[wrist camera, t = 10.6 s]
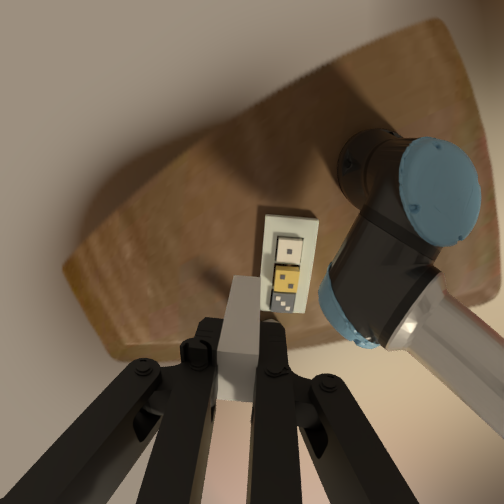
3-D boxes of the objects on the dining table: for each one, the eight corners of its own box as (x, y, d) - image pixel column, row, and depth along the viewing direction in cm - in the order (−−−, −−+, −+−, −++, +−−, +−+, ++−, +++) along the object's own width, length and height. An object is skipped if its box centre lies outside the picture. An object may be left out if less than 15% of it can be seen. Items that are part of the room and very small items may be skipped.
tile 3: (272, 287, 54) (273, 293, 52) (294, 289, 54) (295, 294, 52) (270, 306, 55) (270, 312, 53) (291, 307, 55) (292, 313, 53)
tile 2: (275, 265, 51) (276, 270, 49) (298, 267, 51) (299, 272, 49) (273, 285, 52) (274, 291, 50) (295, 287, 52) (296, 293, 50)
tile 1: (278, 235, 50) (279, 239, 48) (301, 237, 50) (302, 241, 48) (276, 257, 52) (276, 262, 50) (298, 259, 52) (299, 263, 50)
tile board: (265, 213, 50) (265, 216, 48) (317, 218, 50) (319, 220, 48) (257, 306, 56) (257, 310, 55) (303, 309, 56) (304, 313, 54)
